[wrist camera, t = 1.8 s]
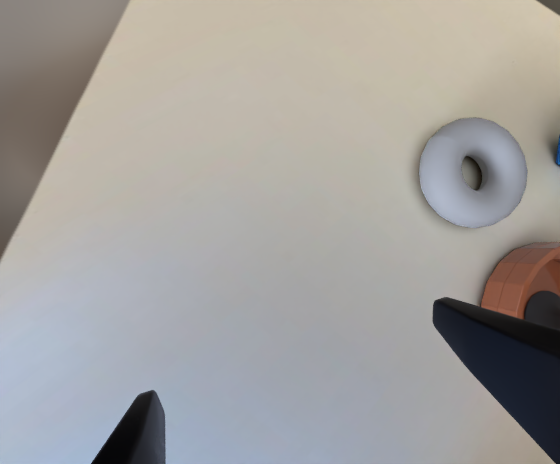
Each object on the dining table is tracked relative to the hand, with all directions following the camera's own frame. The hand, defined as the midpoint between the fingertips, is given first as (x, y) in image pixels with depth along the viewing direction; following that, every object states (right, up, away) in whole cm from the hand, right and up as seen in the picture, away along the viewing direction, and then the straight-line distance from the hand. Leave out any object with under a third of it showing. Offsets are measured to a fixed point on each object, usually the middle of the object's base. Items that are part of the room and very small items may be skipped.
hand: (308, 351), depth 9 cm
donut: (+16, +9, +20) cm, 27 cm away
